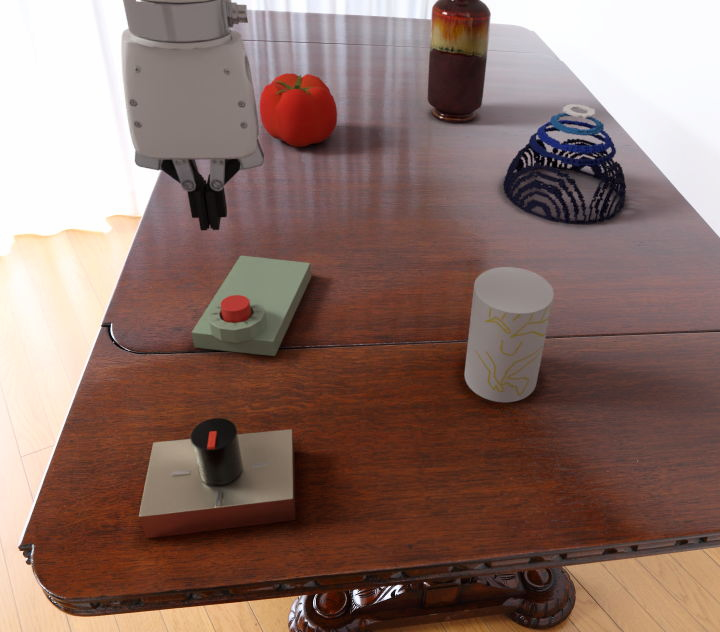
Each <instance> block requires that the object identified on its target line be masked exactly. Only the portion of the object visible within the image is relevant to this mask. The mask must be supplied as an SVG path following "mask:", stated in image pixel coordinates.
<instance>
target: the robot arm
mask: <svg viewBox="0 0 720 632" xmlns="http://www.w3.org/2000/svg"><path fill="white" fill-rule="evenodd" d="M122 2H123V7H124V13H125V17H126V23H127V27H128V28H126V29H124V30H123V31H122V35H121V73H122V82H123V83H122V84H123V91H124V93H123V94H124V101H125V109H126V115H127V117H126V118H127V123H128V129H129V134H130V138H131V142H132V145H133V148H134V150H135V151H134V163H135V165H136V166H137V167H139V168H144V169H149V170H155V171H162V172H164V173H165V174H167V175H168V176H169V177H170V178H172V179H173V180H175V181H176V182H177V183H179V184H180V186H181V188H182V189H183V191H186V193H187V197H188V203H189V209H190V214H191V215H190V216H191V218H192V219H198V222H199V229H200V231H208V230H213V231H220V226H221V219H222V218H228V206H227V200H226V199H227V198H226V192H225V191H226V190H225V186H226V184H227V183H228V182H229V181H230V180H231V179H233V177H234V176H235V175H237V173H238V172H239V171H242V170H243V171H245V170H249V169H253V168H257V167H261V166H262V165H264V161H265V154H264V152H263V149H262V146H261V143H260V140H259V135H260V128H259V127H260V126H259V117H258V109H257V103H256V102H257V101H256V94H255V89H254V82H253V77H252V71H251V67H250V62H249V58H248V55H247V50H246V47H245V44H244V40H243V37H242V34H241V33H240V32H238V31H236V30H233V29H231V28H234V25H239V23H241V24H243V23H244V24H249V15H248V13H249V12H248V6H247V4H238V2H233V1H232V0H122ZM196 160H209V161H210V162H209V174H208V175H207V180H206V179H205V177H204V176H203V175H202V174H201V173H200V171H199V168H198V165H197V162H196Z"/></svg>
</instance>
